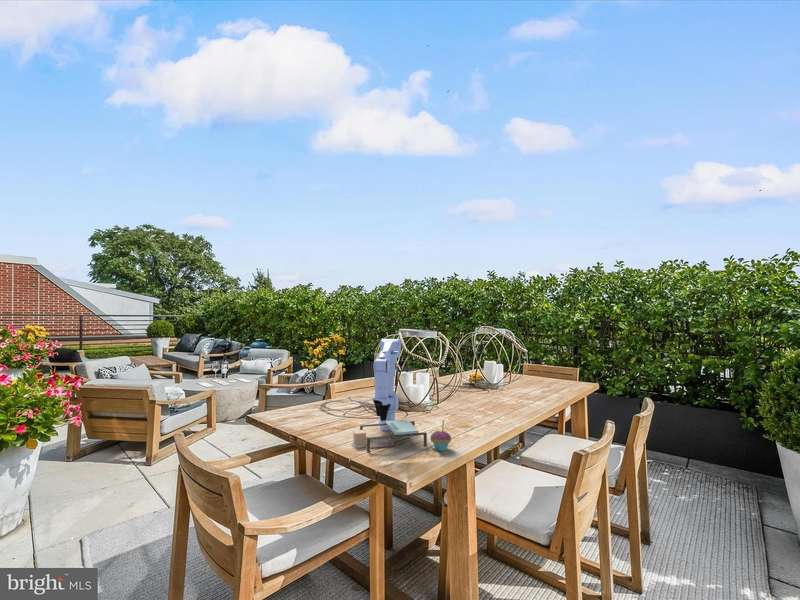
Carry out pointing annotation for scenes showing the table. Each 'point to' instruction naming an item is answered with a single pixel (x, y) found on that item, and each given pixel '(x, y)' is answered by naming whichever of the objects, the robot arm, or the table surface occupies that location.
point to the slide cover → (401, 427)
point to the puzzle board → (385, 438)
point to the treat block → (359, 437)
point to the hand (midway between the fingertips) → (381, 418)
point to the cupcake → (441, 439)
